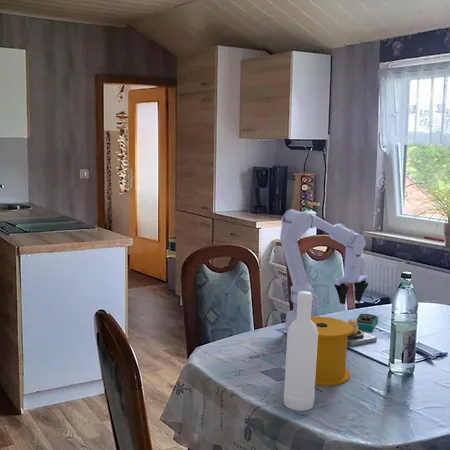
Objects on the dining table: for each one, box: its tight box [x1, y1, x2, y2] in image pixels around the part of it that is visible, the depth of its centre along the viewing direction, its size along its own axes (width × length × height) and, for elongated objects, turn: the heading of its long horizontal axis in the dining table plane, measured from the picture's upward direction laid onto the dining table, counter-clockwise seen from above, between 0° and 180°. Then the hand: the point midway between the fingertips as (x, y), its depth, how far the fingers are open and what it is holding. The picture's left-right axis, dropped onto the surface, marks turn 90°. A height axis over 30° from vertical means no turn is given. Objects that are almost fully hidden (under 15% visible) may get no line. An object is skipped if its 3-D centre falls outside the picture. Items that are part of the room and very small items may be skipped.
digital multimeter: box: [356, 313, 379, 333], centre depth 233 cm, size 7×15×3 cm, turn 158°
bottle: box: [283, 291, 318, 412], centre depth 160 cm, size 8×8×30 cm
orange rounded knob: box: [347, 319, 358, 335], centre depth 216 cm, size 4×4×5 cm
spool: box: [291, 315, 353, 387], centre depth 183 cm, size 18×18×15 cm
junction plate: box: [347, 330, 378, 347], centre depth 217 cm, size 12×12×2 cm
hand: (350, 302), depth 226 cm, fingers open, 7 cm apart
